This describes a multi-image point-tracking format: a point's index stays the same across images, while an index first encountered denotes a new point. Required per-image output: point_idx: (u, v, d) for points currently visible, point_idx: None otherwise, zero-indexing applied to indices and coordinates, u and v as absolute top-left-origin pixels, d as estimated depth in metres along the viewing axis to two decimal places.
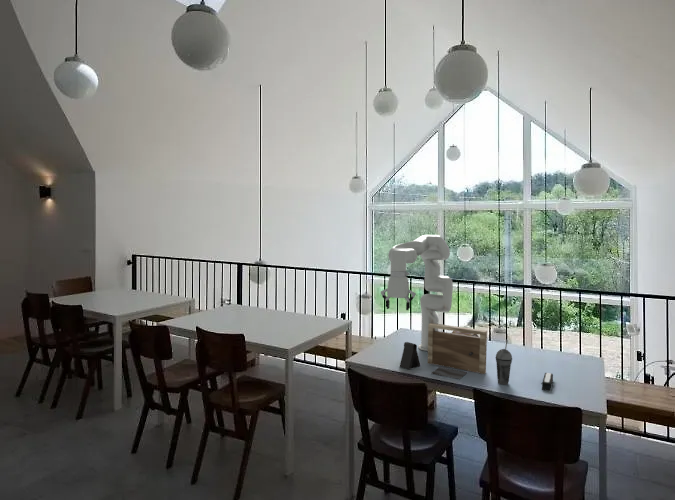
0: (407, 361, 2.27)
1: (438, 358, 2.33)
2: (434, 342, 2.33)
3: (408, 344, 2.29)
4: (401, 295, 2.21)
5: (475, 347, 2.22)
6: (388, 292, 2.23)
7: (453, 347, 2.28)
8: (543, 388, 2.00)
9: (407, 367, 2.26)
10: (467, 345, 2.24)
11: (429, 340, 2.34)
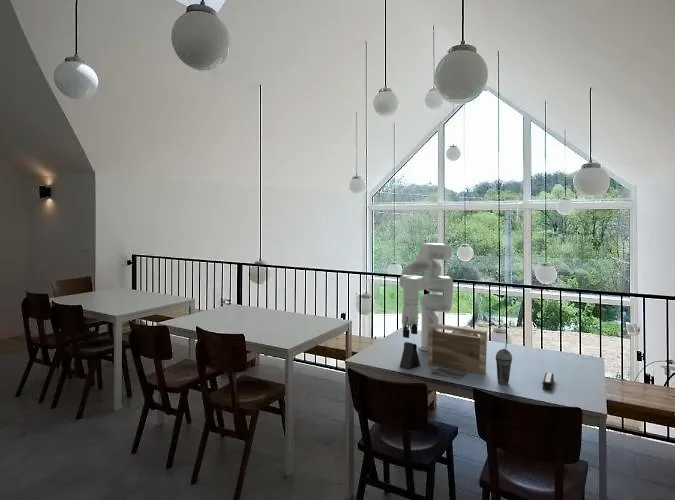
0: (407, 361, 2.27)
1: (438, 358, 2.33)
2: (434, 342, 2.33)
3: (408, 344, 2.29)
4: (416, 321, 2.30)
5: (475, 347, 2.22)
6: (410, 321, 2.24)
7: (453, 347, 2.28)
8: (544, 388, 2.00)
9: (407, 367, 2.26)
10: (467, 345, 2.24)
11: (429, 340, 2.34)
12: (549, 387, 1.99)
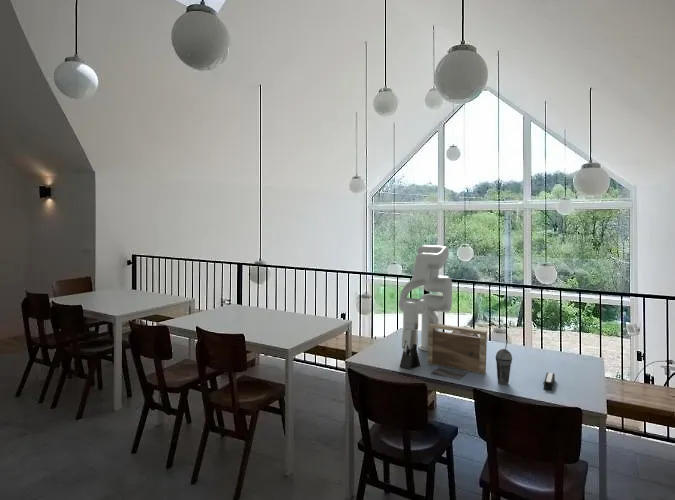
0: (408, 361, 2.27)
1: (438, 358, 2.33)
2: (434, 342, 2.33)
3: None
4: (416, 344, 2.31)
5: (475, 347, 2.22)
6: (410, 345, 2.25)
7: (453, 347, 2.28)
8: (545, 388, 2.00)
9: (407, 367, 2.26)
10: (467, 345, 2.24)
11: (429, 340, 2.34)
12: (550, 387, 1.99)
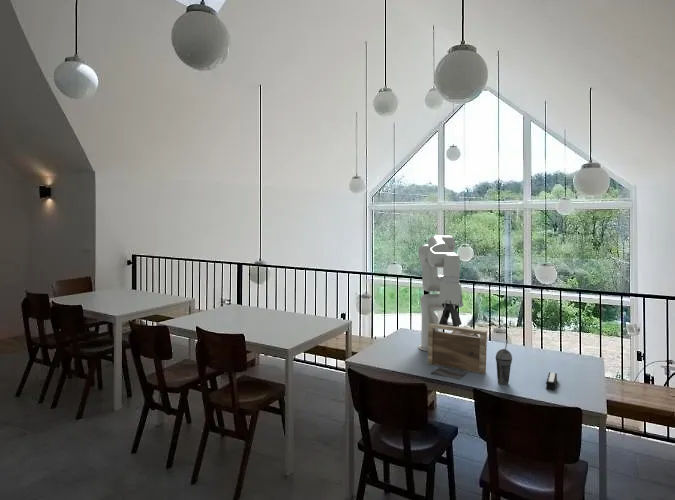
0: (458, 317, 2.18)
1: (438, 358, 2.33)
2: (434, 342, 2.33)
3: None
4: None
5: (475, 347, 2.22)
6: None
7: (453, 347, 2.28)
8: (547, 388, 2.00)
9: (460, 323, 2.18)
10: (467, 345, 2.24)
11: (429, 340, 2.34)
12: (553, 387, 1.99)
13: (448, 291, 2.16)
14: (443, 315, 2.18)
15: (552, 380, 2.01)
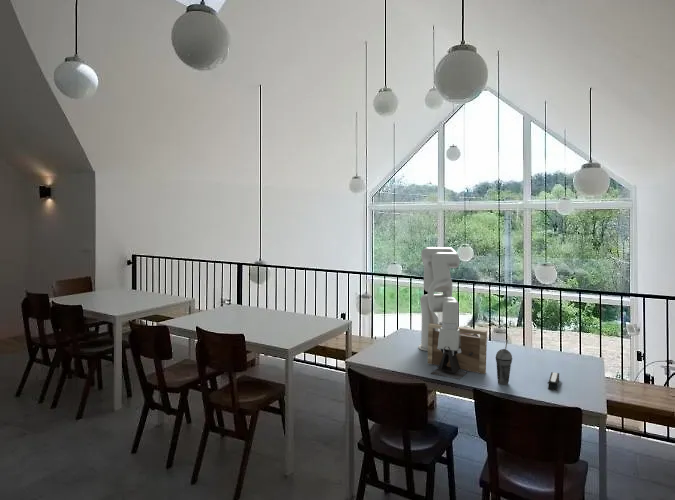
0: (457, 363, 2.19)
1: (438, 358, 2.33)
2: (434, 342, 2.33)
3: None
4: None
5: (475, 347, 2.22)
6: None
7: None
8: (549, 387, 2.00)
9: (459, 368, 2.19)
10: (467, 345, 2.24)
11: (429, 340, 2.34)
12: (555, 387, 1.99)
13: (447, 337, 2.17)
14: (442, 361, 2.19)
15: (554, 380, 2.02)
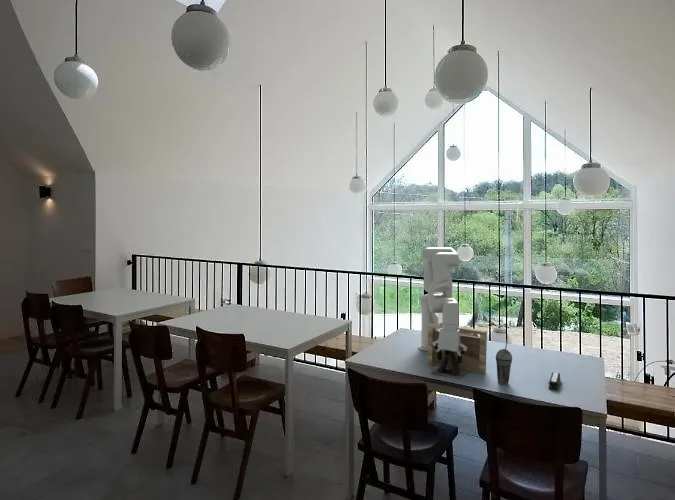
0: (457, 365, 2.20)
1: None
2: None
3: None
4: None
5: (475, 347, 2.22)
6: None
7: None
8: (550, 387, 2.00)
9: (459, 371, 2.20)
10: (467, 345, 2.24)
11: (429, 340, 2.34)
12: (555, 387, 1.99)
13: (447, 337, 2.17)
14: (442, 364, 2.19)
15: (555, 380, 2.02)
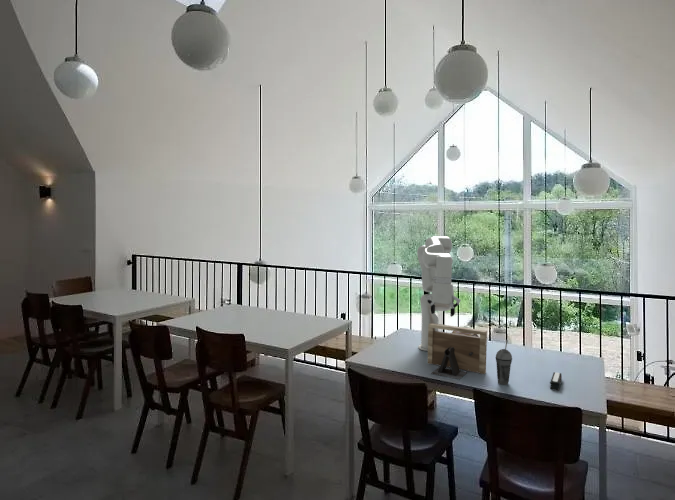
0: (457, 365, 2.20)
1: (438, 358, 2.33)
2: (434, 342, 2.33)
3: (451, 349, 2.19)
4: None
5: (475, 347, 2.22)
6: None
7: None
8: (551, 387, 2.01)
9: (459, 371, 2.20)
10: (467, 345, 2.24)
11: (429, 340, 2.34)
12: (557, 387, 1.99)
13: (440, 291, 2.22)
14: (442, 364, 2.19)
15: (556, 380, 2.02)
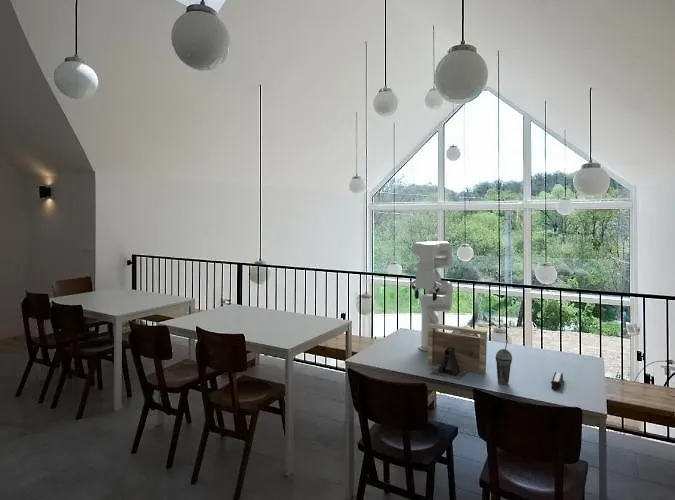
0: (457, 365, 2.20)
1: (438, 358, 2.33)
2: (434, 342, 2.33)
3: (451, 349, 2.19)
4: None
5: (475, 347, 2.22)
6: None
7: None
8: (552, 387, 2.01)
9: (459, 371, 2.20)
10: (467, 345, 2.24)
11: (429, 340, 2.34)
12: (558, 386, 2.00)
13: (423, 277, 2.36)
14: (442, 364, 2.19)
15: (557, 380, 2.02)
